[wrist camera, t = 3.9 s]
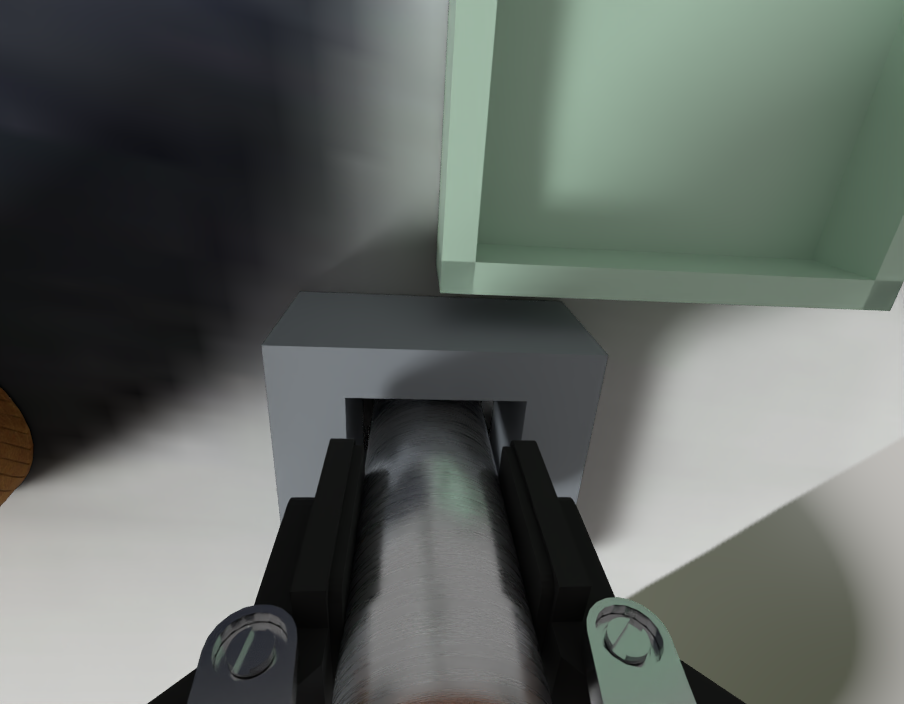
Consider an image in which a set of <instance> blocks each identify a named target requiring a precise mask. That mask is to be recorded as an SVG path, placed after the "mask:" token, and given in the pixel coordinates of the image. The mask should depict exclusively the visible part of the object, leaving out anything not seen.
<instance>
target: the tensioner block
mask: <svg viewBox="0 0 904 704" xmlns="http://www.w3.org/2000/svg"><path fill="white" fill-rule="evenodd" d="M261 346H262V356H263V365H264V374H265V383H266V393H267V402H268V411H269V420H270V430H271V439H272V448H273V458H274V467H275V476H276V485H277V495H278V504H279V513H280V522H282V519H283V516H284V513H285V510H286V507H287V504H288V502H289V500H290V498H291V497H315V494H316V491H317V487H318V483H319V479H320V475H321V472H322V468H323V464H324V460H325V456H326V453H327V449H328V445H329V441H330V439H331V438H344V439H355V441H356V445H363V398H380V399H430V400H480V401H494V404H493V413H492V421H491V430H490V439H489V440H490V445H491V449H492V453H493V457H494V461H495V465H496V470H497V474H498V475H499V467H500V460H501V452H502V448H503V446H510V443H511V441H512V440H534V441H536V443H537V445H538V447H539V450H540V452H541V455H542V458H543V460H544V463H545V465H546V468H547V471H548V473H549V476H550V479H551V481H552V484H553V486H554V489H555V492H556V494H557V497H571V498H572V499H573V500H574V502H575V504H576V503H577V499H578V494H579V490H580V485H581V480H582V476H583V471H584V466H585V462H586V457H587V452H588V448H589V443H590V438H591V434H592V429H593V425H594V420H595V415H596V411H597V406H598V401H599V397H600V392H601V387H602V383H603V378H604V373H605V369H606V364H607V359H608V354H607V353H606V352H605V351H604V350H603V349H602V347H601V346H600V345H599V344H598V343H597V342H596V340H595V339H594V338H593V337H592V336H591V335H590V334H589V332H588V331H587V330H586V329H585V328H584V327H583V325H582V324H581V323H580V322H579V321H578V320H577V318H576V317H575V316H574V315H573V314H572V313H571V311H570V310H569V309H568V308H567V307H566V306H565V304H564V303H563V302H560V301H534V300H508V299H482V298H457V297H431V296H405V295H379V294H354V293H328V292H302V291H300V292H299V294H298V295H297V296H296V298H295V299H294V301H293V302H292V303H291V305H290V306H289V308H288V309H287V310H286V312H285V313H284V315H283V316H282V317H281V319H280V320H279V322H278V323H277V324H276V326H275V327H274V329H273V330H272V331H271V333H270V334H269V335H268V337H267V338H266V340H265V341H264V342H263V344H262V345H261ZM364 454H365V464H366V457H367V450H364Z"/></svg>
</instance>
